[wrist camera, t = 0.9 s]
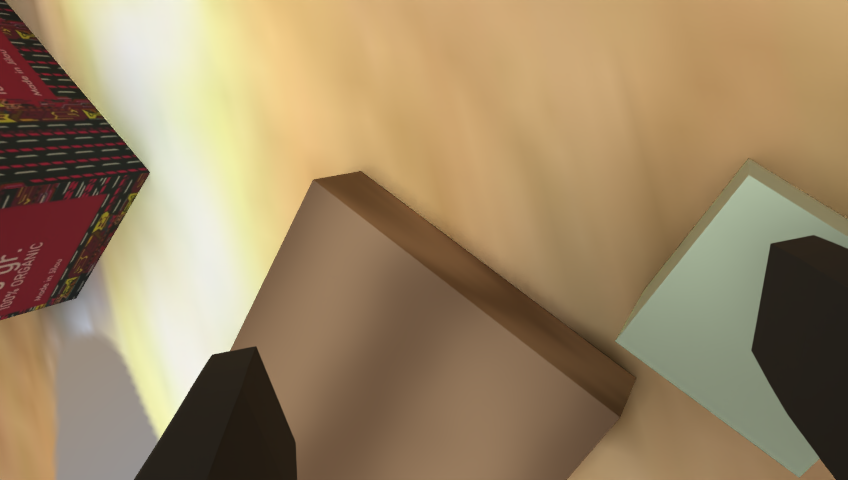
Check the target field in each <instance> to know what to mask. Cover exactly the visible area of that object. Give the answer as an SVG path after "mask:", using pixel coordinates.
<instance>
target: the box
mask: <svg viewBox="0 0 848 480" xmlns="http://www.w3.org/2000/svg"><path fill="white" fill-rule="evenodd" d="M149 173H150V172H149V171H148V169H147V168H146V167H145V166H144V165H143V164H142V162H141V161H140V160H139V159H138V158H137V156H136V155H135V154H134V153H133V152H132V151H131V149H130V148H129V147H128V146H127V145H126V143H125V142H124V141H123V140H122V139H121V137H120V136H119V135H118V134H117V133H116V132H115V130H114V129H113V128H112V127H111V126H110V124H109V123H108V122H107V121H106V120H105V119H104V117H103V116H102V115H101V114H100V113H99V111H98V110H97V109H96V108H95V107H94V106H93V104H92V103H91V102H90V101H89V100H88V98H87V97H86V96H85V95H84V94H83V92H82V91H81V90H80V89H79V88H78V87H77V85H76V84H75V83H74V82H73V81H72V79H71V78H70V77H69V76H68V75H67V74H66V72H65V71H64V70H63V69H62V68H61V66H60V65H59V64H58V63H57V62H56V61H55V59H54V58H53V57H52V56H51V55H50V53H49V52H48V51H47V50H46V49H45V48H44V46H43V45H42V44H41V43H40V42H39V40H38V39H37V38H36V37H35V36H34V34H33V33H32V32H31V31H30V30H29V29H28V27H27V26H26V25H25V24H24V23H23V21H22V20H21V19H20V18H19V17H18V16H17V14H16V13H15V12H14V11H13V10H12V8H11V7H10V6H9V5H8V4H7V3H6V1H5V0H0V320H3V319H6V318H10V317H13V316H16V315H20V314H23V313H27V312H30V311H34V310H37V309H41V308H44V307H47V306H51V305H54V304H58V303H61V302H65V301H68V300H72V299H75V298H77V296H78V294H79V292H80V291H81V289H82V287H83V286H84V284H85V282H86V281H87V279H88V277H89V275H90V274H91V272H92V270H93V269H94V267H95V265H96V264H97V262H98V260H99V258H100V257H101V255H102V253H103V252H104V250H105V248H106V247H107V245H108V243H109V241H110V240H111V238H112V236H113V235H114V233H115V231H116V230H117V228H118V226H119V224H120V223H121V221H122V219H123V218H124V216H125V214H126V213H127V211H128V209H129V207H130V206H131V204H132V202H133V201H134V199H135V197H136V196H137V194H138V192H139V190H140V189H141V187H142V185H143V184H144V182H145V180H146V179H147V177H148V175H149Z"/></svg>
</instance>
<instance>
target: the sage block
mask: <svg viewBox="0 0 848 480" xmlns="http://www.w3.org/2000/svg"><path fill="white" fill-rule="evenodd" d="M811 235H815V236H818V237H820V238H823V239H826V240H828V241H831V242H833V243H836V244H838V245H841V246H843V247H845V248H848V219H846V218H845V217H843V216H841V215H840V214H838V213H837V212H835V211H833V210H832V209H830V208H828V207H827V206H825V205H824V204H822V203H820V202H819V201H817V200H815V199H814V198H812V197H811V196H809V195H807V194H806V193H804V192H803V191H801V190H799V189H798V188H796V187H794V186H793V185H791V184H790V183H788V182H786V181H785V180H783V179H781V178H780V177H778V176H777V175H775V174H773V173H772V172H770V171H769V170H767V169H765V168H764V167H762V166H760V165H759V164H757V163H756V162H754V161H752V160H751V159H749V158H748V160H747V161H746V162H745V163H744V165H743V166H742V167H741V168H740V170H739V171H738V172H737V173H736V175H735V176H734V177H733V179H732V180H731V181H730V182H729V184H728V185H727V186H726V187H725V189H724V190H723V191H722V192H721V194H720V195H719V196H718V197H717V199H716V200H715V201H714V202H713V204H712V205H711V206H710V208H709V209H708V210H707V211H706V213H705V214H704V215H703V216H702V218H701V219H700V220H699V221H698V223H697V224H696V225H695V226H694V228H693V229H692V230H691V231H690V233H689V234H688V235H687V237H686V238H685V239H684V240H683V242H682V243H681V244H680V245H679V247H678V248H677V249H676V250H675V252H674V253H673V254H672V255H671V257H670V258H669V259H668V260H667V262H666V263H665V264H664V266H663V267H662V268H661V269H660V271H659V272H658V273H657V274H656V276H655V277H654V278H653V279H652V281H651V282H650V283H649V284H648V286H647V287H646V288H645V289H644V291H643V292H642V294H641V296H640V298H639V299H638V301H637V303H636V305H635V307H634V308H633V310H632V312H631V314H630V316H629V317H628V319H627V321H626V323H625V325H624V326H623V328H622V330H621V332H620V334H619V335H618V337H617V339H616V341H615V342H617V343H618V344H619V345H621V346H622V347H623V348H625V349H626V350H628V351H629V352H630V353H632V354H633V355H634V356H636V357H637V358H638V359H640V360H641V361H642V362H644V363H645V364H646V365H648V366H649V367H650V368H652V369H653V370H654V371H656V372H657V373H659V374H660V375H661V376H663V377H664V378H665V379H667V380H668V381H669V382H671V383H672V384H673V385H675V386H676V387H677V388H679V389H680V390H681V391H683V392H684V393H686V394H687V395H688V396H690V397H691V398H692V399H694V400H695V401H696V402H698V403H699V404H700V405H702V406H703V407H704V408H706V409H707V410H708V411H710V412H711V413H712V414H714V415H715V416H717V417H718V418H719V419H721V420H722V421H723V422H725V423H726V424H727V425H729V426H730V427H731V428H733V429H734V430H735V431H737V432H738V433H739V434H741V435H742V436H744V437H745V438H746V439H748V440H749V441H750V442H752V443H753V444H754V445H756V446H757V447H758V448H760V449H761V450H762V451H764V452H765V453H766V454H768V455H769V456H770V457H772V458H773V459H775V460H776V461H777V462H779V463H780V464H781V465H783V466H784V467H785V468H787V469H788V470H789V471H791V472H792V473H793V474H795V475H796V476H797V477H800V476H801V475H802V474H804V473H805V472H806V471H807V470H808V469H809V468H810V467H811V466H812V465H813V464H814V463H815V462H817V461H818V460H819V459H820V458H819V456H818V455H817V454H816V452H815V451H814V450H813V448H812V447H811V446H810V444H809V443H808V442H807V440H806V439H805V438H804V436H803V435H802V434H801V432H800V431H799V430H798V428H797V427H796V425H795V424H794V423H793V421H792V420H791V419H790V417H789V416H788V414H787V413H786V411H785V410H784V408H783V406H782V405H781V403H780V401H779V399H778V398H777V396H776V394H775V393H774V391H773V389H772V388H771V386H770V384H769V382H768V380H767V379H766V377H765V375H764V373H763V371H762V369H761V368H760V366H759V364H758V362H757V360H756V358H755V357H754V355H753V353H752V351H751V349H752V344H753V338H754V333H755V327H756V322H757V316H758V311H759V305H760V299H761V294H762V288H763V283H764V277H765V272H766V266H767V261H768V255H769V250H770V244H771V243H776V242H781V241H786V240H791V239H796V238H801V237H806V236H811Z"/></svg>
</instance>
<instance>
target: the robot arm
mask: <svg viewBox="0 0 848 480" xmlns="http://www.w3.org/2000/svg"><path fill="white" fill-rule="evenodd" d="M751 351H752V353H753V355H754V357H755V358H756V360H757V362H758V364H759V366H760V368H761V369H762V371H763V373H764V375H765V377H766V379H767V380H768V382H769V384H770V386H771V388H772V389H773V391H774V393H775V394H776V396H777V398H778V399H779V401H780V403H781V405H782V406H783V408H784V410H785V411H786V413H787V414H788V416H789V417H790V419H791V420H792V421H793V423H794V424H795V425H796V427H797V428H798V430H799V431H800V432H801V434H802V435H803V436H804V438H805V439H806V440H807V442H808V443H809V444H810V446H811V447H812V448H813V450H814V451H815V452H816V454H817V455H818V456H819V458H820V459H821V460H822V462H823V463H824V465H825V466H826V467H827V468H828V470H829V471H830V472H831V474H832V475H833V476H834V478H835V479H836V480H848V248H845V247H843V246H841V245H838V244H836V243H833V242H831V241H828V240H826V239H823V238H820V237H818V236H815V235H811V236H806V237H801V238H796V239H791V240H786V241H781V242H776V243H771V244H770V250H769V255H768V261H767V266H766V272H765V277H764V283H763V288H762V294H761V299H760V305H759V311H758V316H757V322H756V327H755V333H754V338H753V344H752V349H751ZM134 480H297V461H296V442H295V439H294V437H293V434H292V432H291V430H290V427H289V425H288V422H287V420H286V417H285V415H284V413H283V410H282V408H281V405H280V403H279V400H278V398H277V396H276V393H275V391H274V388H273V386H272V383H271V381H270V378H269V376H268V374H267V371H266V369H265V366H264V364H263V361H262V359H261V357H260V354H259V352H258V349H257V347H256V346H254V347H249V348H244V349H239V350H234V351H229V352H224V353H219V354H214V355H212V356H211V357H210V359H209V360H208V362H207V363H206V365H205V366H204V368H203V370H202V371H201V373H200V374H199V376H198V378H197V379H196V381H195V382H194V384H193V386H192V387H191V389H190V391H189V392H188V394H187V396H186V397H185V399H184V401H183V402H182V404H181V406H180V407H179V409H178V411H177V412H176V414H175V415H174V417H173V419H172V420H171V422H170V424H169V425H168V427H167V428H166V430H165V432H164V433H163V435H162V437H161V438H160V440H159V441H158V443H157V445H156V446H155V448H154V449H153V451H152V453H151V454H150V455H149V457H148V459H147V460H146V462H145V463H144V465H143V466H142V468H141V469H140V471H139V473H138V474H137V476H136V477H135V479H134Z"/></svg>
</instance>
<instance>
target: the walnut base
mask: <svg viewBox="0 0 848 480" xmlns="http://www.w3.org/2000/svg"><path fill="white" fill-rule="evenodd" d="M254 346H256V347H257V349H258V352H259V354H260V357H261V359H262V361H263V364H264V366H265V369H266V371H267V374H268V376H269V378H270V381H271V383H272V386H273V388H274V391H275V393H276V396H277V398H278V400H279V403H280V405H281V408H282V410H283V413H284V415H285V417H286V420H287V422H288V425H289V427H290V430H291V432H292V434H293V437H294V439H295V442H296V461H297V480H567V479H568V477H569V476H570V475H571V474H572V473H573V472H574V470H575V469H576V468H577V467H578V466H579V465H580V464H581V462H582V461H583V460H584V459H585V458H586V457H587V455H588V454H589V453H590V452H591V451H592V450H593V448H594V447H595V446H596V445H597V444H598V443H599V441H600V440H601V439H602V438H603V437H604V436H605V435H606V433H607V432H608V431H609V430H610V429H611V428H612V426H613V425H614V424H615V423H616V422H617V421H618V419H619V418H620V417H621V414H622V412H623V409H624V407H625V404H626V402H627V399H628V397H629V394H630V392H631V390H632V387H633V385H634V382H635V380H636V378H635V377H634V376H632V375H631V374H630V373H628V372H627V371H626V370H624V369H623V368H622V367H620V366H619V365H618V364H616V363H615V362H614V361H612V360H611V359H610V358H608V357H607V356H606V355H604V354H603V353H602V352H600V351H599V350H598V349H596V348H595V347H594V346H592V345H591V344H590V343H588V342H587V341H586V340H584V339H583V338H582V337H580V336H579V335H578V334H576V333H575V332H574V331H573V330H571V329H570V328H569V327H567V326H566V325H565V324H563V323H562V322H561V321H559V320H558V319H557V318H555V317H554V316H553V315H551V314H550V313H549V312H547V311H546V310H545V309H543V308H542V307H541V306H539V305H538V304H537V303H535V302H534V301H533V300H531V299H530V298H529V297H527V296H526V295H525V294H523V293H522V292H521V291H519V290H518V289H517V288H515V287H514V286H513V285H511V284H510V283H509V282H507V281H506V280H505V279H503V278H502V277H501V276H499V275H498V274H497V273H495V272H494V271H493V270H491V269H490V268H489V267H487V266H486V265H485V264H483V263H482V262H481V261H479V260H478V259H477V258H475V257H474V256H473V255H471V254H470V253H469V252H467V251H466V250H465V249H463V248H462V247H461V246H459V245H458V244H457V243H455V242H454V241H453V240H451V239H450V238H449V237H447V236H446V235H445V234H443V233H442V232H441V231H439V230H438V229H437V228H435V227H434V226H433V225H431V224H430V223H429V222H427V221H426V220H425V219H423V218H422V217H421V216H419V215H418V214H417V213H415V212H414V211H413V210H411V209H410V208H409V207H407V206H406V205H405V204H403V203H402V202H401V201H399V200H398V199H397V198H395V197H394V196H393V195H391V194H390V193H389V192H387V191H386V190H385V189H383V188H382V187H381V186H379V185H378V184H377V183H375V182H374V181H373V180H371V179H370V178H369V177H367V176H366V175H365V174H363V173H362V172H361V171H359V172H354V173H348V174H342V175H337V176H331V177H325V178H320V179H314V180H313V181H312V183H311V185H310V187H309V189H308V191H307V194H306V196H305V198H304V200H303V202H302V204H301V206H300V208H299V210H298V212H297V214H296V216H295V218H294V220H293V222H292V224H291V226H290V229H289V231H288V233H287V235H286V237H285V239H284V241H283V243H282V245H281V247H280V249H279V251H278V253H277V255H276V257H275V259H274V261H273V264H272V266H271V268H270V270H269V272H268V274H267V276H266V278H265V280H264V282H263V284H262V286H261V288H260V290H259V292H258V294H257V296H256V299H255V301H254V303H253V305H252V307H251V309H250V311H249V313H248V315H247V317H246V319H245V321H244V323H243V325H242V327H241V329H240V331H239V334H238V336H237V338H236V340H235V342H234V344H233V346H232V348H231V350H230V351H234V350H239V349H244V348H249V347H254Z"/></svg>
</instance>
